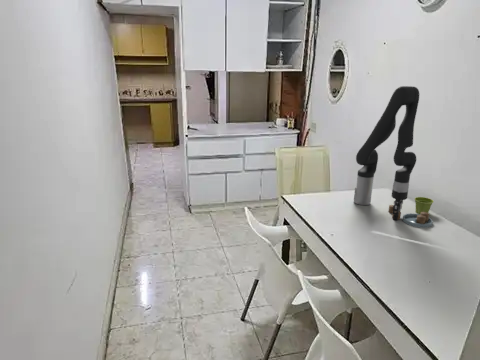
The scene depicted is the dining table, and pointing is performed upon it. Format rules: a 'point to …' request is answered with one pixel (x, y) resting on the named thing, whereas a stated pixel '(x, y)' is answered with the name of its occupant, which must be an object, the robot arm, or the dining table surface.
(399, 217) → the brown rounded dome
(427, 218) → the seated bead
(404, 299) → the dining table surface
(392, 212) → the pile bead
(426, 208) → the plant pot
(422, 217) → the seated bead
